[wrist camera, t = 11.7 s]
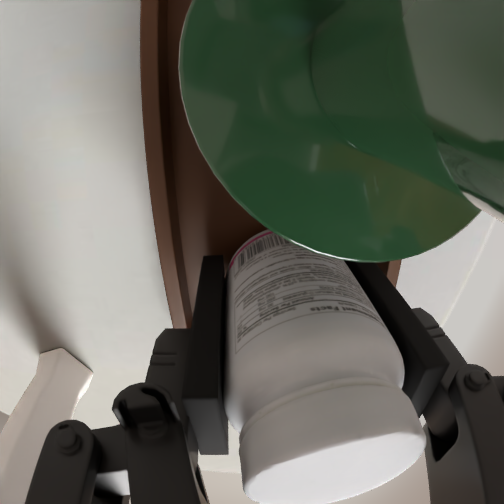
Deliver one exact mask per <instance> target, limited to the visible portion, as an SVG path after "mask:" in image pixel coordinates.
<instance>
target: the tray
mask: <svg viewBox="0 0 504 504" xmlns="http://www.w3.org/2000/svg"><path fill="white" fill-rule="evenodd" d="M191 1H192V0H141V12H140V69H141V95H142V113H143V128H144V140H145V152H146V162H147V171H148V180H149V189H150V197H151V205H152V212H153V219H154V226H155V233H156V239H157V245H158V252H159V257H160V263H161V269H162V274H163V280H164V285H165V290H166V295H167V300H168V305H169V310H170V315H171V320H172V324H173V329H174V328H191V326H192V319H193V313H194V307H195V301H196V294H197V289H198V283H199V277H200V271H201V265H202V260H203V256H208V255H223V258H224V271H225V278H226V273H227V269H228V266H229V264H230V262H231V260H232V258H233V256H234V254H235V253H236V252H237V250H238V249H239V248H240V247H241V246H242V245H243V244H244V243H245V242H246V241H247V240H249V239H250V238H251V237H253V236H255V235H256V234H258V233H260V232H263V231H265V230H268V229H267V228H266V227H265V226H263V225H262V224H261V223H259V222H258V221H257V220H256V219H254V218H253V217H252V216H250V215H249V214H248V213H247V212H246V211H245V210H244V209H243V208H242V207H241V206H240V205H239V204H238V203H237V202H236V201H235V200H234V199H233V198H232V197H231V196H230V195H229V193H228V192H227V191H226V189H225V188H224V187H223V186H222V184H221V183H220V182H219V180H218V179H217V178H216V177H215V175H214V174H213V172H212V170H211V169H210V167H209V165H208V164H207V162H206V160H205V159H204V157H203V155H202V153H201V152H200V150H199V148H198V145H197V143H196V141H195V138H194V136H193V133H192V131H191V129H190V126H189V124H188V120H187V116H186V113H185V109H184V105H183V101H182V97H181V89H180V80H179V70H178V65H179V46H180V38H181V34H182V29H183V25H184V20H185V16H186V14H187V11H188V9H189V6H190V4H191ZM401 260H402V259H401ZM401 260H394V261H387V262H375V263H376V264H377V265H378V267H379V268H380V269H381V270H382V272H383V273H384V274H385V275H386V277H387V278H388V279H389V280H390V282H391V283H392V284H393V285H394V287H395V288H396V284H397V279H398V275H399V270H400V265H401ZM344 261H345V260H344Z"/></svg>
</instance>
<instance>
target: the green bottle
mask: <svg viewBox="0 0 504 504" xmlns="http://www.w3.org/2000/svg"><path fill="white" fill-rule="evenodd" d="M178 70H179V80H180V89H181V97H182V101H183V105H184V109H185V113H186V116H187V120H188V124H189V126H190V129H191V131H192V133H193V136H194V138H195V141H196V143H197V145H198V148H199V150H200V152H201V153H202V155H203V157H204V159H205V160H206V162H207V164H208V165H209V167H210V169H211V170H212V172H213V174H214V175H215V177H216V178H217V179H218V180H219V182H220V183H221V184H222V186H223V187H224V188H225V189H226V191H227V192H228V193H229V195H230V196H231V197H232V198H233V199H234V200H235V201H236V202H237V203H238V204H239V205H240V206H241V207H242V208H243V209H244V210H245V211H246V212H247V213H248V214H249V215H250V216H252V217H253V218H254V219H256V220H257V221H258V222H259V223H261V224H262V225H263V226H265V227H266V228H267V229H269V230H270V231H271V232H273V233H275V234H276V235H278V236H280V237H282V238H283V239H285V240H287V241H288V242H290V243H292V244H294V245H296V246H299V247H301V248H304V249H306V250H308V251H311V252H313V253H316V254H320V255H323V256H327V257H331V258H334V259H339V260H346V261H353V262H387V261H394V260H401V259H404V258H408V257H412V256H415V255H419V254H421V253H424V252H426V251H428V250H431V249H433V248H435V247H437V246H439V245H441V244H442V243H444V242H446V241H447V240H449V239H451V238H452V237H454V236H455V235H456V234H458V233H459V232H460V231H461V230H463V229H464V228H465V227H466V226H468V225H469V224H470V223H471V222H472V221H473V219H474V218H475V217H476V216H477V215H478V214H479V213H480V212H481V211H484V212H486V213H488V214H489V215H491V216H493V217H494V218H496V219H498V220H499V221H501V222H503V223H504V0H192V1H191V4H190V6H189V9H188V11H187V14H186V16H185V20H184V25H183V29H182V34H181V38H180V46H179V65H178Z"/></svg>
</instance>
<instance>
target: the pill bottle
mask: <svg viewBox="0 0 504 504" xmlns="http://www.w3.org/2000/svg"><path fill="white" fill-rule="evenodd" d="M404 374H405V371H404V363H403V358H402V355H401V353H400V351H399V349H398V347H397V345H396V343H395V341H394V339H393V337H392V336H391V334H390V332H389V331H388V329H387V328H386V326H385V324H384V323H383V321H382V319H381V318H380V316H379V314H378V313H377V311H376V310H375V308H374V306H373V305H372V303H371V302H370V300H369V298H368V297H367V295H366V294H365V292H364V291H363V289H362V287H361V286H360V284H359V283H358V281H357V280H356V278H355V277H354V275H353V274H352V272H351V271H350V269H349V268H348V266H347V265H346V263H345V262H344V260H339V259H334V258H331V257H327V256H323V255H320V254H316V253H313V252H311V251H308V250H306V249H304V248H301V247H299V246H296V245H294V244H292V243H290V242H288V241H287V240H285V239H283V238H282V237H280V236H278V235H276V234H275V233H273V232H271V231H270V230H269V229H268V230H265V231H263V232H260V233H258V234H256V235H255V236H253V237H251V238H250V239H249V240H247V241H246V242H245V243H244V244H243V245H242V246H241V247H240V248H239V249H238V250H237V252H236V253H235V254H234V256H233V258H232V260H231V262H230V264H229V266H228V269H227V273H226V278H225V328H224V364H223V401H224V408H225V412H226V415H227V418H228V420H229V421H230V423H231V424H232V426H233V427H234V429H235V430H236V431H237V432H238V433H239V434H240V436H239V441H240V448H239V456H240V462H241V472H242V483H243V490H244V492H245V494H246V495H247V496H248V497H249V498H250V499H252V500H253V501H256V502H258V503H261V504H328V503H332V502H336V501H341V500H344V499H348V498H351V497H354V496H357V495H360V494H362V493H365V492H367V491H370V490H372V489H375V488H377V487H379V486H381V485H383V484H385V483H386V482H388V481H390V480H392V479H393V478H395V477H397V476H398V475H400V474H401V473H403V472H404V471H405V470H407V468H409V467H410V466H411V465H413V464H414V463H415V462H416V461H417V459H418V458H419V457H420V456H421V454H422V453H423V451H424V449H425V447H426V435H425V433H424V430H423V428H422V426H421V423H420V421H419V418H418V416H417V413H416V411H415V408H414V406H413V404H412V402H411V400H410V399H409V397H408V396H407V395H406V394H405V393H404V392H403V391H402V386H403V382H404Z"/></svg>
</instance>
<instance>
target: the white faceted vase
mask: <svg viewBox="0 0 504 504" xmlns="http://www.w3.org/2000/svg"><path fill="white" fill-rule="evenodd" d="M92 376H93V372H92V371H91V370H90V369H88V368H87V367H86V366H84V365H83V364H82V363H80V362H79V361H78V360H77V359H75V358H74V357H73V356H72V355H70V354H69V353H68V352H67V351H66V350H64V349H62V348H59V349H55V350H52V351H48V352H45V353H41V354H40V357H39V362H38V367H37V372H36V375H35V377H34V378H33V380H32V381H31V383H30V384H29V386H28V387H27V389H26V391H25V392H24V394H23V395H22V397H21V399H20V400H19V402H18V404H17V405H16V407H15V409H14V410H13V412H12V414H11V415H10V417H9V419H8V421H7V422H6V424H5V426H4V428H3V429H2V431H1V433H0V504H25V501H26V497H27V493H28V490H29V487H30V483H31V480H32V477H33V474H34V471H35V468H36V464H37V461H38V459H39V456H40V453H41V450H42V447H43V444H44V442H45V439H46V436H47V434H48V433H49V431H50V429H51V428H52V427H54V426H55V425H56V424H57V423H59V422H62V421H65V420H72V418H73V415H74V411H75V408H76V405H77V402H78V401H79V400H80V398H81V397H82V396H83V394H84V393H85V392H86V391H87V389H88V386H89V384H90V381H91V378H92Z"/></svg>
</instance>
